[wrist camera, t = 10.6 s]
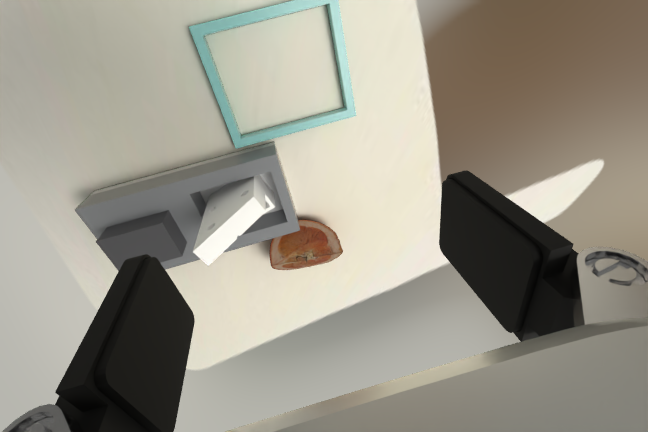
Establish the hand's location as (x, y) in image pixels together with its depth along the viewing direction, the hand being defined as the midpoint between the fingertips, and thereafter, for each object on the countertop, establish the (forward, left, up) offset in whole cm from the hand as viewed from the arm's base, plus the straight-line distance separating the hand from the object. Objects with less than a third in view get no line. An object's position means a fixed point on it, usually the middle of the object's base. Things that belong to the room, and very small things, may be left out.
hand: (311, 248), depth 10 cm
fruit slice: (+16, -1, -24) cm, 29 cm away
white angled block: (+8, -6, -23) cm, 25 cm away
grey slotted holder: (+8, -11, -24) cm, 27 cm away
